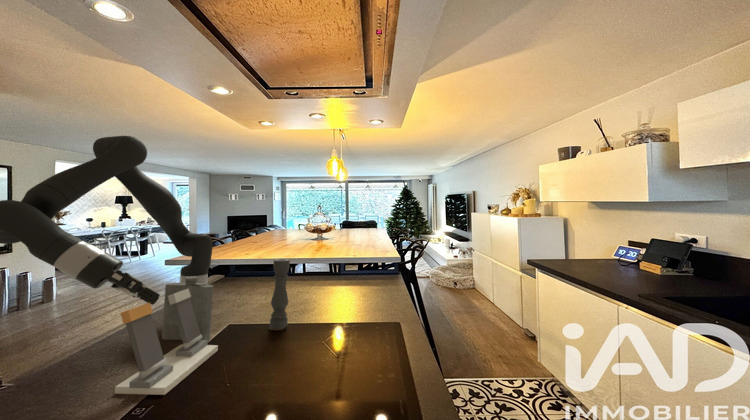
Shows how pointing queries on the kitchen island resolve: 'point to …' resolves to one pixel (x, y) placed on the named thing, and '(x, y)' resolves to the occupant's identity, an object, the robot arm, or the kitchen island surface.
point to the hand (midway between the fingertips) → (156, 300)
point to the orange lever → (144, 339)
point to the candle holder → (280, 294)
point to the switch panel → (169, 370)
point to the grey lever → (185, 317)
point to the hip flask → (200, 304)
